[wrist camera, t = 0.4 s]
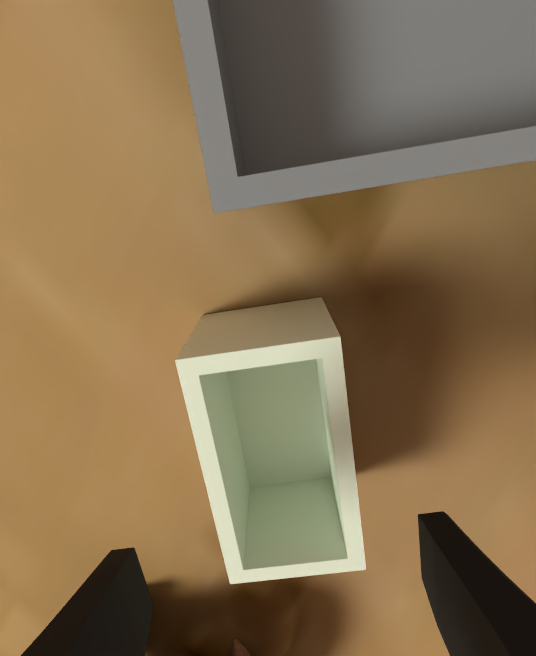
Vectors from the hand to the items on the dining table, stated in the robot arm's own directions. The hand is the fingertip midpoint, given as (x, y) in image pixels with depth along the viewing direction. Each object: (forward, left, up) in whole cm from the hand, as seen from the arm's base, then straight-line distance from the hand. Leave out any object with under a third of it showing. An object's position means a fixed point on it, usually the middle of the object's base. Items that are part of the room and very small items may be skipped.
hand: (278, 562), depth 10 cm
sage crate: (0, 0, -8) cm, 8 cm away
